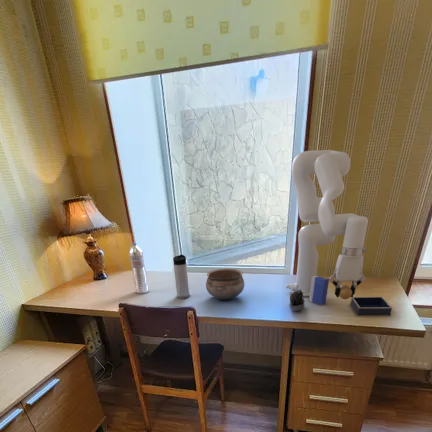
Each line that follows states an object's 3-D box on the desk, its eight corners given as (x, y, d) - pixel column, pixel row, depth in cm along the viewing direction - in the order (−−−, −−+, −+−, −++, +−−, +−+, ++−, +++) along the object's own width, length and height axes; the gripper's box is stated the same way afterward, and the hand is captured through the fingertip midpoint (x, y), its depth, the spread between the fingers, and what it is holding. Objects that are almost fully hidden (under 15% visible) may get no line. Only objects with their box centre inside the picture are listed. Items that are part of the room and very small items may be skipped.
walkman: (325, 304, 154) (329, 278, 147) (321, 305, 153) (324, 279, 146) (313, 299, 160) (316, 274, 153) (308, 300, 159) (311, 275, 152)
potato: (339, 301, 138) (341, 289, 135) (335, 294, 144) (337, 283, 141) (352, 301, 137) (354, 289, 134) (347, 294, 144) (349, 283, 141)
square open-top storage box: (357, 316, 141) (359, 307, 139) (350, 305, 152) (351, 297, 150) (389, 316, 140) (392, 307, 138) (380, 304, 151) (382, 296, 149)
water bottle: (151, 290, 181) (143, 241, 166) (144, 294, 176) (135, 244, 161) (141, 289, 183) (132, 241, 169) (133, 293, 178) (124, 244, 164)
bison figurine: (288, 303, 156) (290, 282, 150) (303, 304, 155) (306, 282, 149) (288, 313, 146) (290, 291, 141) (305, 314, 145) (307, 291, 140)
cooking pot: (235, 309, 154) (235, 283, 147) (198, 305, 160) (196, 280, 153) (250, 291, 173) (250, 267, 166) (216, 288, 179) (215, 265, 172)
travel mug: (191, 294, 172) (188, 254, 161) (186, 299, 167) (182, 258, 156) (180, 293, 174) (176, 254, 163) (175, 298, 169) (170, 257, 158)
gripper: (371, 248, 132) (362, 293, 143) (327, 249, 134) (321, 293, 144) (377, 253, 126) (367, 299, 136) (331, 254, 128) (325, 299, 138)
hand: (344, 295), depth 140 cm, fingers closed on potato, 5 cm apart
